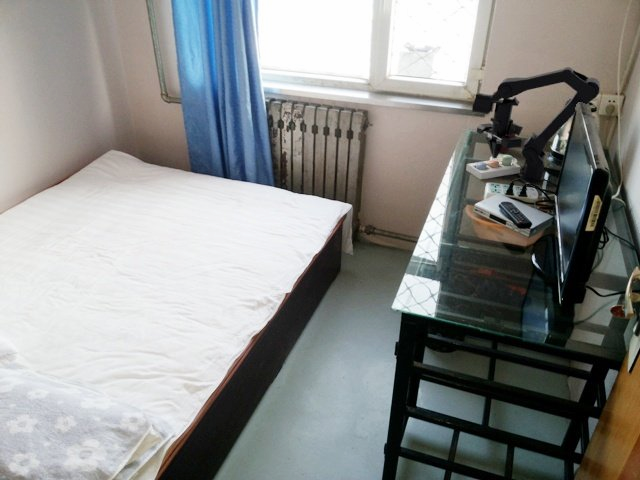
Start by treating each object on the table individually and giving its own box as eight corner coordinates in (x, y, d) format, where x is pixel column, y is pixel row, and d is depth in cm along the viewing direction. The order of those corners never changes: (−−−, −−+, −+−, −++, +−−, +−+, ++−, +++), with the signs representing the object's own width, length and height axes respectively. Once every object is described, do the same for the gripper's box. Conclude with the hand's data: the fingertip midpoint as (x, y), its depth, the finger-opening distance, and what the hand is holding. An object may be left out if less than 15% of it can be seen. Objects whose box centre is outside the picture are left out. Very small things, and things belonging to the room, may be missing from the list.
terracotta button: (499, 170, 191) (501, 163, 189) (491, 172, 190) (493, 164, 188) (494, 167, 194) (495, 159, 192) (485, 168, 193) (487, 161, 191)
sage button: (513, 165, 192) (514, 157, 190) (504, 166, 191) (506, 158, 189) (507, 161, 195) (508, 154, 193) (498, 163, 194) (500, 155, 192)
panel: (519, 172, 191) (520, 166, 190) (480, 179, 186) (481, 173, 185) (504, 164, 198) (505, 158, 197) (466, 170, 193) (467, 163, 192)
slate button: (487, 172, 189) (488, 165, 188) (478, 174, 188) (480, 166, 187) (481, 169, 192) (482, 161, 191) (473, 170, 191) (474, 163, 190)
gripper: (539, 121, 176) (529, 164, 184) (504, 106, 191) (497, 146, 199) (511, 125, 173) (503, 168, 181) (479, 109, 188) (472, 150, 196)
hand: (494, 157), depth 190 cm, fingers closed
